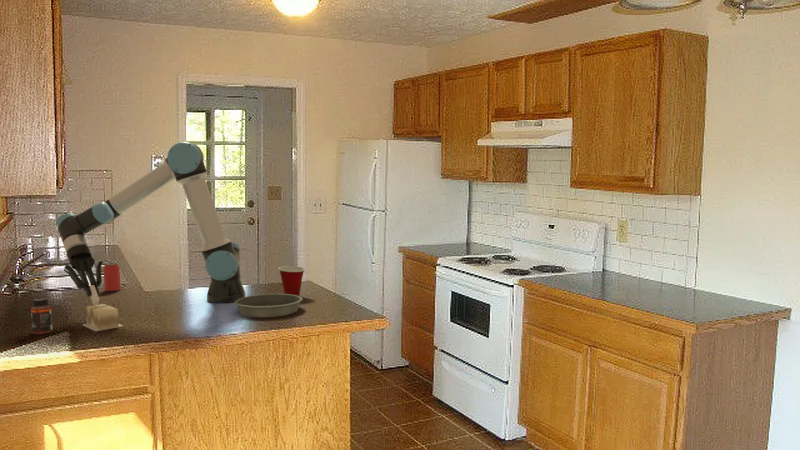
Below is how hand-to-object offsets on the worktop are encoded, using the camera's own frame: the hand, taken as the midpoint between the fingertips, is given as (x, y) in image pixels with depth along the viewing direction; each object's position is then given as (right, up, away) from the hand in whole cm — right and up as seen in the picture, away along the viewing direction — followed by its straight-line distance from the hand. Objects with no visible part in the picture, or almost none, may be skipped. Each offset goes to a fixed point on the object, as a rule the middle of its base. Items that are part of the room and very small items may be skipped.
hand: (96, 302), depth 232 cm
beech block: (-1, -4, +2) cm, 5 cm away
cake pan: (+56, -6, +18) cm, 59 cm away
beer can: (-22, -2, +65) cm, 68 cm away
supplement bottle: (-13, -9, -10) cm, 19 cm away
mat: (+3, -8, -2) cm, 9 cm away
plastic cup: (+61, -3, +45) cm, 75 cm away
